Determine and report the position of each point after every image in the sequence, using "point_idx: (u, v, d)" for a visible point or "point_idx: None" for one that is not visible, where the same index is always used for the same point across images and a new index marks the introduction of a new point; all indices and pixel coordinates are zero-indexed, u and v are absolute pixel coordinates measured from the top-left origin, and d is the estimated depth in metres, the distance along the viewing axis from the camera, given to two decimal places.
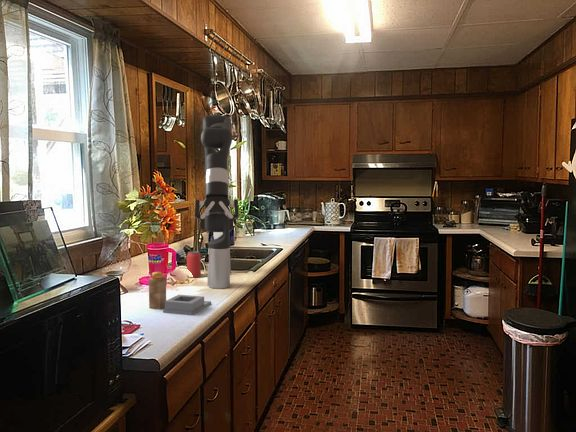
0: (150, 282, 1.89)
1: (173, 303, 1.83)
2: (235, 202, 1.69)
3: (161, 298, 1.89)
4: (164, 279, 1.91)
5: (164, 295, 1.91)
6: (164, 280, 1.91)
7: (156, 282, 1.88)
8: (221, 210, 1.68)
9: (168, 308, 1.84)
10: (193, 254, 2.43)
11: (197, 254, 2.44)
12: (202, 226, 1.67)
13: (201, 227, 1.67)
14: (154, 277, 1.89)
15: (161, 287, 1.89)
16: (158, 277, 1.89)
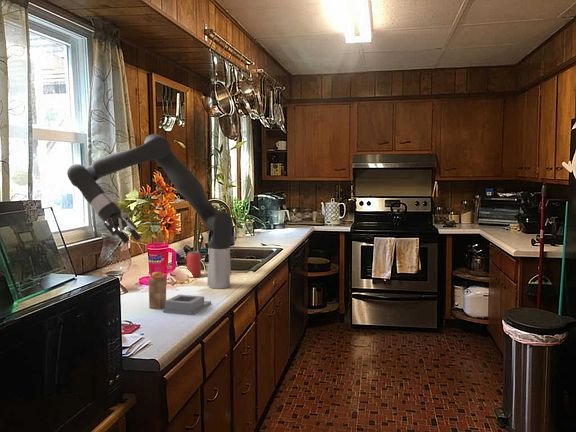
0: (150, 282, 1.89)
1: (173, 303, 1.83)
2: None
3: (161, 298, 1.89)
4: (164, 279, 1.91)
5: (164, 295, 1.91)
6: (164, 280, 1.91)
7: (156, 282, 1.88)
8: None
9: (168, 308, 1.84)
10: (193, 254, 2.43)
11: (197, 254, 2.44)
12: None
13: None
14: (154, 277, 1.89)
15: (161, 287, 1.89)
16: (158, 277, 1.89)
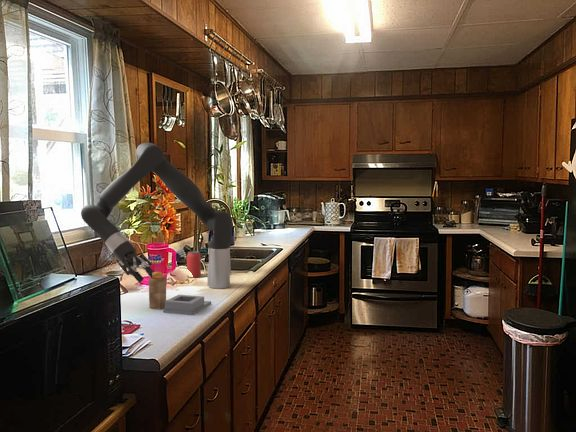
0: (150, 282, 1.89)
1: (173, 303, 1.83)
2: None
3: (161, 298, 1.89)
4: (164, 279, 1.91)
5: (164, 295, 1.91)
6: (164, 280, 1.91)
7: (156, 282, 1.88)
8: None
9: (168, 308, 1.84)
10: (193, 254, 2.43)
11: (197, 254, 2.44)
12: None
13: None
14: (154, 277, 1.89)
15: (161, 287, 1.89)
16: (158, 277, 1.89)
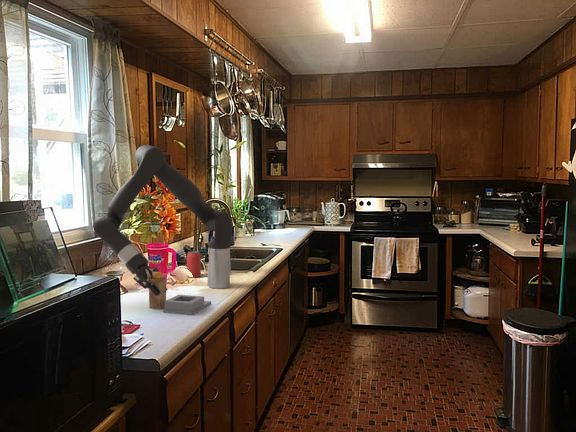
0: None
1: (173, 303, 1.83)
2: None
3: (161, 298, 1.89)
4: (164, 279, 1.91)
5: (164, 295, 1.91)
6: (164, 280, 1.91)
7: (156, 282, 1.88)
8: None
9: (168, 308, 1.84)
10: (193, 254, 2.43)
11: (197, 254, 2.44)
12: None
13: None
14: (154, 277, 1.89)
15: (161, 287, 1.89)
16: (158, 277, 1.89)
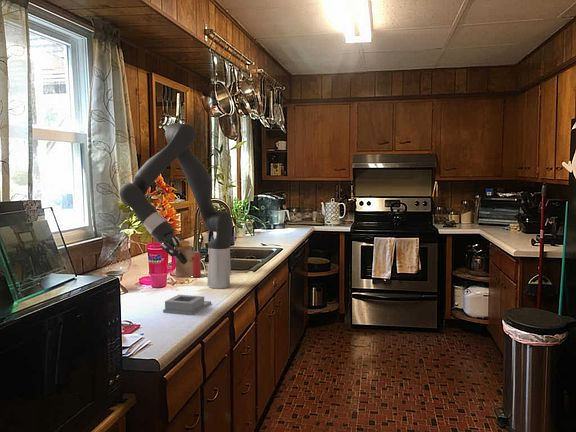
0: None
1: (173, 303, 1.83)
2: None
3: (188, 267, 1.85)
4: (191, 248, 1.87)
5: (191, 264, 1.87)
6: (191, 248, 1.87)
7: (183, 250, 1.84)
8: None
9: (168, 308, 1.84)
10: (193, 254, 2.43)
11: (197, 254, 2.44)
12: None
13: None
14: (181, 245, 1.85)
15: (188, 255, 1.85)
16: (185, 245, 1.85)
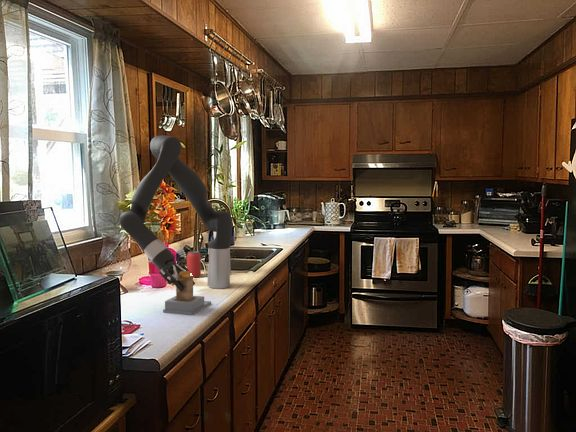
0: None
1: (173, 303, 1.83)
2: None
3: (188, 297, 1.86)
4: (191, 278, 1.88)
5: (191, 294, 1.88)
6: (191, 279, 1.88)
7: (184, 281, 1.85)
8: None
9: (168, 308, 1.84)
10: (193, 254, 2.43)
11: (197, 254, 2.44)
12: None
13: None
14: (181, 276, 1.86)
15: (188, 286, 1.86)
16: (185, 276, 1.86)
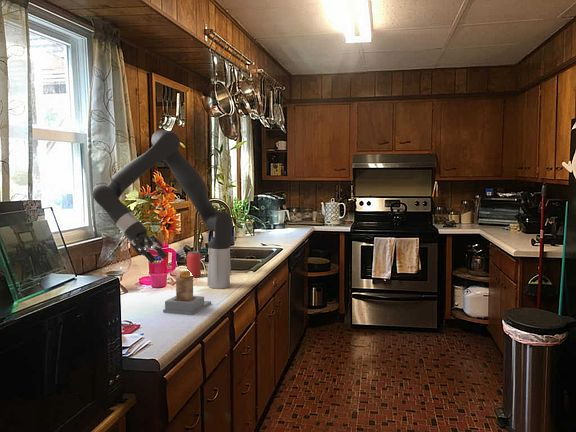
0: (177, 281, 1.86)
1: (173, 303, 1.83)
2: None
3: (188, 298, 1.86)
4: (191, 278, 1.88)
5: (191, 294, 1.88)
6: (191, 279, 1.88)
7: (184, 281, 1.85)
8: None
9: (168, 308, 1.84)
10: (193, 254, 2.43)
11: (197, 254, 2.44)
12: None
13: None
14: (181, 276, 1.86)
15: (188, 286, 1.86)
16: (185, 276, 1.86)
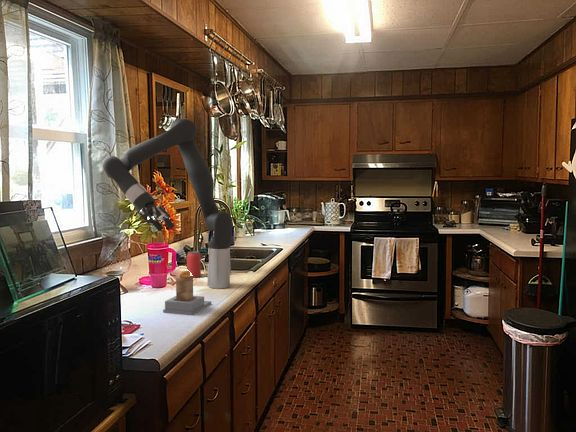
0: (177, 281, 1.86)
1: (173, 303, 1.83)
2: None
3: (188, 298, 1.86)
4: (191, 278, 1.88)
5: (191, 294, 1.88)
6: (191, 279, 1.88)
7: (184, 281, 1.85)
8: None
9: (168, 308, 1.84)
10: (193, 254, 2.43)
11: (197, 254, 2.44)
12: None
13: None
14: (181, 276, 1.86)
15: (188, 286, 1.86)
16: (185, 276, 1.86)
